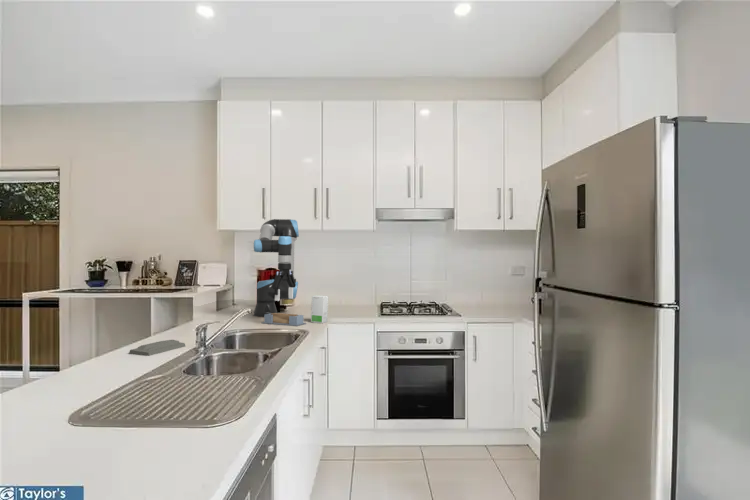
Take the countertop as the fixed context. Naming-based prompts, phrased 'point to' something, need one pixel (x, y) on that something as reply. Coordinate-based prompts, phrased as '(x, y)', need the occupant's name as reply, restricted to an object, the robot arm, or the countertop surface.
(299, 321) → the endcap rail
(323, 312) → the skincare box
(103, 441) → the countertop surface
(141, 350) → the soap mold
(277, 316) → the brown long rectangular block
